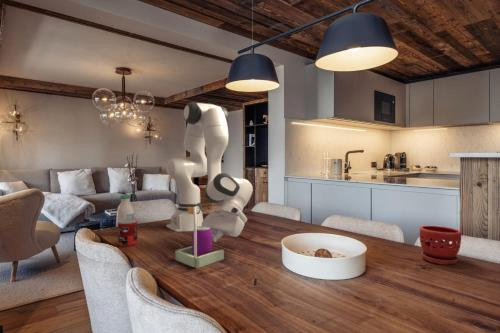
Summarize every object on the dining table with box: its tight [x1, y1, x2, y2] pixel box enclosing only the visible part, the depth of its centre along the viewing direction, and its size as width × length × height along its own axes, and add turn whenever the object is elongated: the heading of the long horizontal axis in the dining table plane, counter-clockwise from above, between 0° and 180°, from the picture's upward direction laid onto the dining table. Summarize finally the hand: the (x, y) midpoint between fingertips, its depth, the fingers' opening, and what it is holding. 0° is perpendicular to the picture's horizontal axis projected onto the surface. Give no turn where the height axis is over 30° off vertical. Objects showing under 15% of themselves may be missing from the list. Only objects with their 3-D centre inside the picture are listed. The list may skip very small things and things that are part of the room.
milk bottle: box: [117, 194, 135, 222], centre depth 156 cm, size 8×8×20 cm
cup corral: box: [174, 207, 225, 269], centre depth 117 cm, size 13×13×22 cm
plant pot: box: [419, 225, 462, 265], centre depth 113 cm, size 13×13×12 cm
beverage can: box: [191, 226, 213, 257], centre depth 118 cm, size 8×8×12 cm
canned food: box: [117, 218, 138, 248], centre depth 137 cm, size 8×8×11 cm
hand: (211, 241), depth 121 cm, fingers closed, pressing on beverage can
